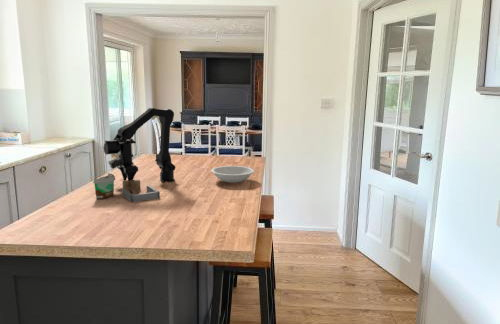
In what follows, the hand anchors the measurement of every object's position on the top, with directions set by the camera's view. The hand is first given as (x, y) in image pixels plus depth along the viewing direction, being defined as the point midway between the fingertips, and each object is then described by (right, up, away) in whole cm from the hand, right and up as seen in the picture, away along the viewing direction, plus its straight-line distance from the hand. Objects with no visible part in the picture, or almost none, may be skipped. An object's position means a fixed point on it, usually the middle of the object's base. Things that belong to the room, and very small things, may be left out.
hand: (127, 182), depth 189 cm
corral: (+12, -6, -16) cm, 20 cm away
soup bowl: (+54, -1, +16) cm, 56 cm away
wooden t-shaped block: (+5, -4, -7) cm, 10 cm away
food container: (-3, -6, -17) cm, 19 cm away
